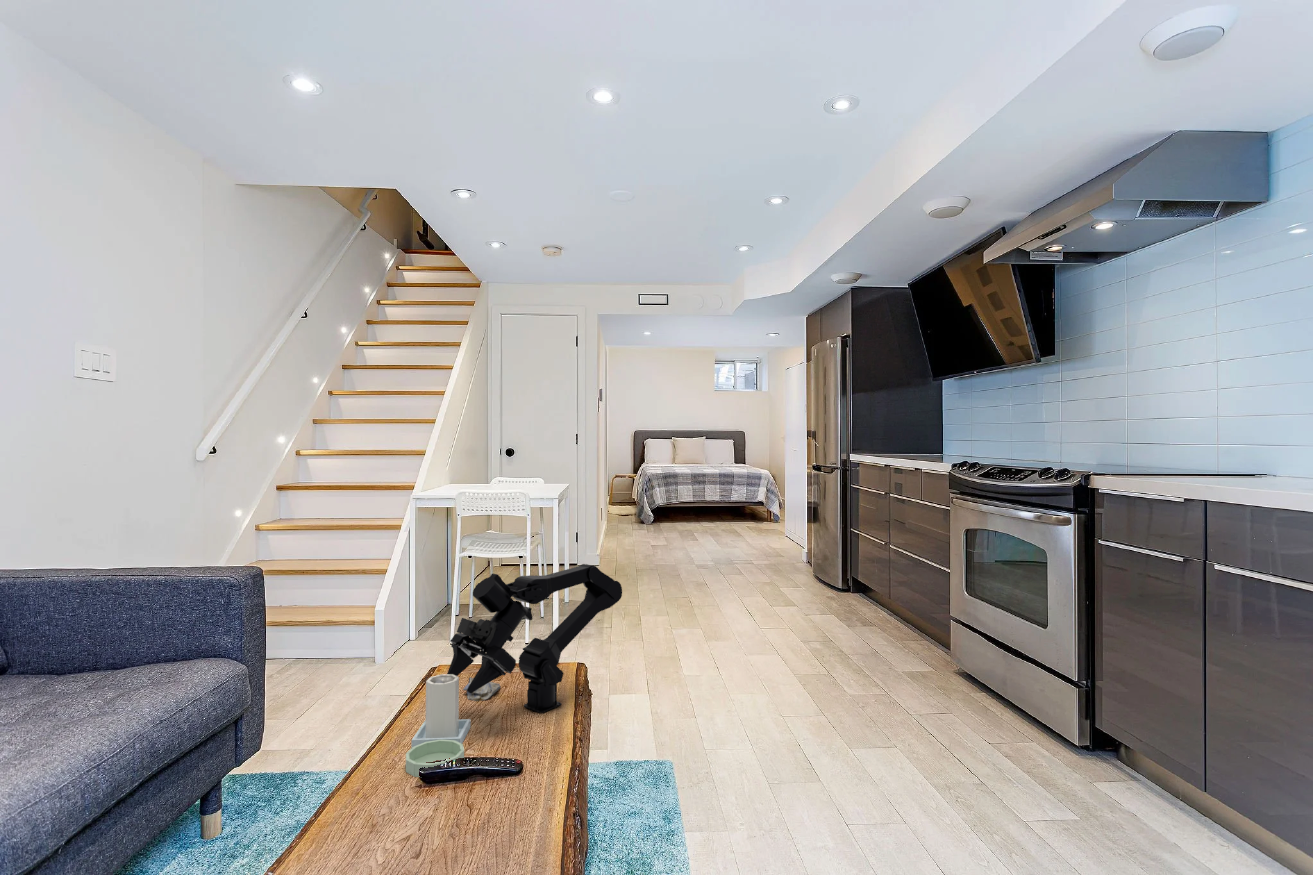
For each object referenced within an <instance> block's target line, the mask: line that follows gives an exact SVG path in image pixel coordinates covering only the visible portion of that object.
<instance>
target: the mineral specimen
mask: <svg viewBox="0 0 1313 875" xmlns="http://www.w3.org/2000/svg"><path fill="white" fill-rule="evenodd" d="M473 679H474V677H471V676H469V678H468V683H467V684H466V685H465V686H464V687H463V689H462V691H466V695H467V697H466V698H467V700H470V701H472V702H473V701H474V702H482V701H486V700H488V699H490V698H491V697H492V696H493V695H494V694H495V693H497V692H498V691H499V690H500V689H501V686H500V685H501V684H500V683H497V682H493V681H491V682H489V683H487V684H486V685H484V686H482V687H481V688H479V689H477V690H476V691H474V692H473V693H469V692H467V689H468V687H469V685H470V683H471V682H472V680H473Z"/></svg>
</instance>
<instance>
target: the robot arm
mask: <svg viewBox="0 0 1313 875" xmlns="http://www.w3.org/2000/svg"><path fill="white" fill-rule="evenodd" d="M582 584H583V586H584V588H585V589H586V592H585V594H584V595H585V596H584V599H583V600H582V601H581V602H580V603H579V604H578V605H577V607H575V608H574V609H573V610H572V612H571V613H569V615H568V616H567V617H566V618H565V619H563V621H562V622H561V623H560V624H559V625H558V626H556V627H555V629H554V630H553V631H552V632H551V633H549V635H548V636H547V637H546V638H543V639H540V638H537V637H534V638H532V640H531V641H530V642H529V643H528V644H527V646H525V647H523V648H522V650H523V651H522V652H521V653H520V654H519V657H518V668H519V670H520V672H522V676H523V678H524V679H525V680H529V681H528V682H527V683H528V684H527V685H528V688H527V691H526V697H527V698H526V699H527V700H526V702H527V703H524V704H523V707H524V708H525V709H528V710H531V711H534V712H536V713H540V714H544V713H546V712H548V711H551V710H553V709H555V708H556V709H557V708H558V707H560V706H562V702H560V701H558V689H557V688H558V684H559V683H561V682H562V681H563V677H564V672H563V670H562V669H561V668H559V666H558V665H559V663H560V658H561V655H562V653H563V651H564V650H565V649H566V647H568V645H569V644H571V642H572V641H573V640H574V639H575V638H576V637H577V636H578V635H579V634H580V633H581V632H582V631H583V630H584V628H585V627H586V626H588V624H589V623H590V622H591V621H592V620H593V619H594V618H595V617H596V616H597V614H599V613H600V612H603V611H605V610H607V609H610V608H612V607H613V606H614V605H615V604H617V603H618V602H620V600H621V598H622V597H623V587H622V584H621V583H620V582H619V581H618V580H615V579H614V578H612V577H610V576H609V575H608V574H606V573H604V572H603V571H601V570H600V569H599V567H597V566H596V565H593V564H587V563H582V564H580V565H578V566H575V567H571V568H567V569H563V570H559V571H556V572H553V573H549V574H546V575H545V574H544V575H520V576H518V577H516V578H515V579H514V581H512V582H509V583H506V582H504V581H503V580H502V577H501V576H500V575H499V574H497V573H491V574H490V575H489V577H486V578H484V579H482V580H481V581H480V582H478V583H477V584H476V585H475V586H474V588H473V590H472V597H473V598H474V599H475V600H476V601H477V602H478V603H479V604H481V605H482V607H483V608H485V610H486V611H488V612H489V613H491V614H493V613H494V615H493V616H492V618H491V619H488V618H487V619H481V618H480V619H479V620H478V621H474V620H470V619H467V618H464V617H461V619H460V622H459V624H458V627H457V629H456V633H455V634H454V635H453V637H451V639H450V643H451V646H450V647H451V648H452V652H453V656H452V659H451V663H450V665H449V668H448V670H447V674H453V675H455V676H458V677H459V675H460V674H461V673H463V671H464V670H465V669H467V668H468V667H469V666H470V665H471V664H473V663H474V662H475V660H474V659H475V658H477V657H478V656H481V665H480V668H478V671H477V673H475V675H474V677H473V678H474V679H473V680H472V682H471V683H470V685H469V687H468V689H467V691H466V693H467V692H469V693H473V692H474V691H476V690H477V689H479V688H481V687H482V686H484V685H486V684H487V683H489V682H493V681H494V680H496V679H498V678H500V677H501V676H506V673H508V674H512V672H513V671H514V670H515V668H516V666H517V665H516V664H517V660H516V658H514V657H513V656H512V655H511V654H510V653H509V652H508V651H507V650H506V649H505V648H503V647H504V645H505V644H506V643H507V642H510V643H511V642H512V641H513V639H514V637H513V636H512V634H513V633H514V631H516V629H517V628H518V626H519V624H520V623H521V622H522V620H523V619H524V620H528V621H533V613H532V607H528V606H524V604H523V603H527V604H531V605H538V604H539V603H541V602H543V601H544V600H546V599H548V598H549V597H550V596H551V595H552V594H554V593H556V592H559V591H562V590H565V589H569V588H572V587H575V586H578V585H582ZM514 599H515V600H514ZM522 602H523V603H522Z"/></svg>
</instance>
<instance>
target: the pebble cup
mask: <svg viewBox="0 0 1313 875" xmlns="http://www.w3.org/2000/svg"><path fill="white" fill-rule="evenodd" d="M459 694H460V677H459V675H458V676H455V675H453V674H444V673H443V674H437V675H435V676H430V677H429V678H428V679H427V680H426V681H425V721H426V732H425V738H452V737H457V736H458V725H459V720H460V717H459V716H460V715H459V714H460V712H459V710H460V706H459V705H460V702H459V700H460V699H459V697H460V696H459Z"/></svg>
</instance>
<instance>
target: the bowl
mask: <svg viewBox="0 0 1313 875" xmlns="http://www.w3.org/2000/svg"><path fill="white" fill-rule="evenodd" d="M449 758H450V759H449ZM458 758H464V759H465V748H464V744H463V743H462V744H461V743H459V742H457V741H455V740H434V741H428V742H424V743H422V744H419V745H417V746H414V747H412V748H411V747H410V749H409V750H408V751H407V752H405V773H407V774H409V775H410V776H413V777H415V778H421V777H420V776H419V769H420V768H422V767H423V768H424V767H425V768H428V767H434V766H437V765H440V764H445V763H446V761H447V762H449V761H451V760H455V759H458ZM445 759H447V760H445ZM436 760H445V761H441V762H435V763H426V762H433V761H436Z"/></svg>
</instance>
